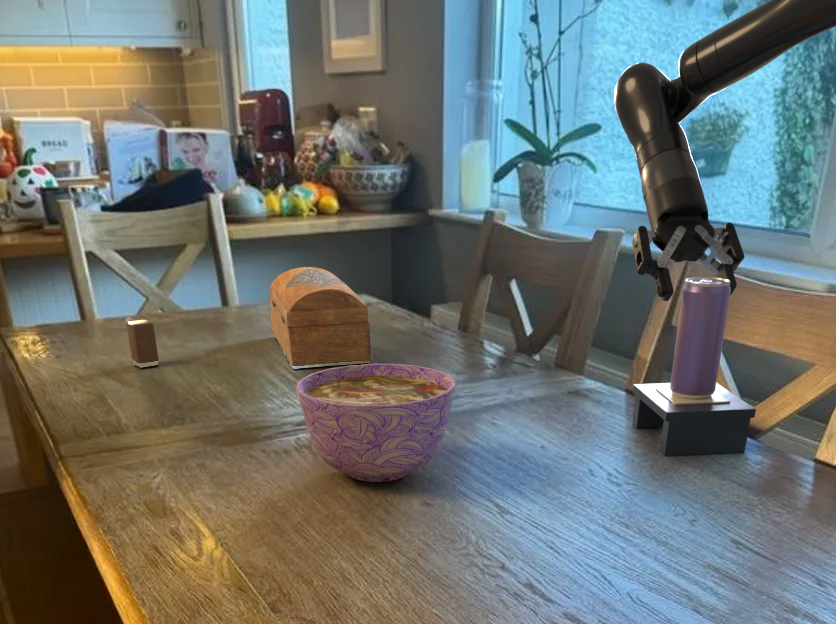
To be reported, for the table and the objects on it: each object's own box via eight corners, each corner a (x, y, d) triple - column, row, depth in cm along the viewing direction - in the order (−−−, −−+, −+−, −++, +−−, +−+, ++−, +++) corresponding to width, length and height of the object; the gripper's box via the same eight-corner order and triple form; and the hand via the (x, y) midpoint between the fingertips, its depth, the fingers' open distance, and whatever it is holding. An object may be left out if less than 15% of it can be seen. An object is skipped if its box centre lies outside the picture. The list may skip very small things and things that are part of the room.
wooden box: (376, 364, 167) (374, 286, 161) (288, 370, 165) (282, 291, 158) (349, 331, 193) (346, 263, 187) (271, 336, 190) (266, 267, 184)
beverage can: (707, 402, 121) (725, 285, 114) (663, 396, 124) (678, 281, 117) (719, 391, 125) (737, 278, 118) (676, 386, 128) (691, 275, 121)
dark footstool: (708, 421, 134) (714, 379, 131) (748, 452, 121) (756, 407, 118) (628, 424, 133) (633, 382, 130) (660, 456, 121) (666, 411, 118)
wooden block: (139, 369, 168) (133, 325, 164) (132, 365, 171) (125, 321, 167) (160, 366, 170) (154, 322, 166) (152, 362, 173) (146, 319, 169)
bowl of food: (300, 449, 126) (295, 366, 120) (442, 442, 127) (443, 360, 122) (302, 503, 108) (295, 409, 103) (466, 495, 110) (469, 401, 104)
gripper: (633, 176, 120) (659, 280, 115) (734, 173, 122) (763, 276, 117) (614, 215, 127) (637, 315, 122) (709, 212, 129) (735, 310, 124)
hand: (698, 296), depth 120 cm, fingers open, 8 cm apart
